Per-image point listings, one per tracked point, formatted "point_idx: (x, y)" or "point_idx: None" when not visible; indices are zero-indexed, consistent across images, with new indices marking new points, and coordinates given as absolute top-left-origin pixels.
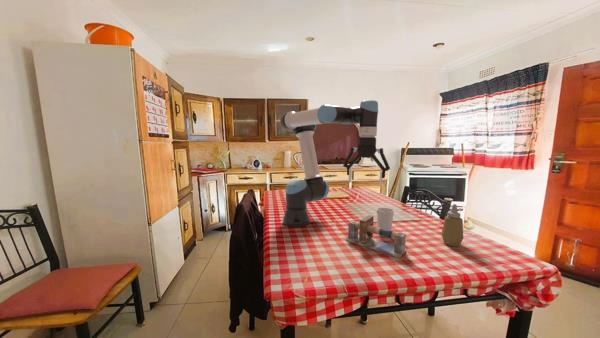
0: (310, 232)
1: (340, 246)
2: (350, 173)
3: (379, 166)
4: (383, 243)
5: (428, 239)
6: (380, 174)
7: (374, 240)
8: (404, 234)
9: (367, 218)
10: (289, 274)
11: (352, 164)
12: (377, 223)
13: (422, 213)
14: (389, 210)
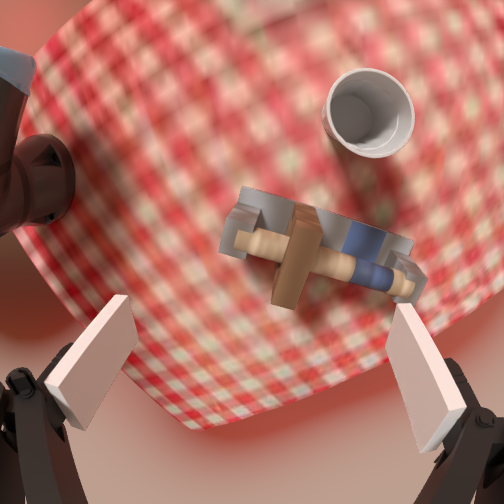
0: (109, 232)
1: (226, 287)
2: (103, 395)
3: (420, 498)
4: (352, 233)
5: (475, 129)
6: (415, 425)
7: (321, 218)
8: (423, 285)
9: (299, 275)
10: (187, 403)
11: (76, 472)
12: (324, 119)
13: None
14: (387, 82)
